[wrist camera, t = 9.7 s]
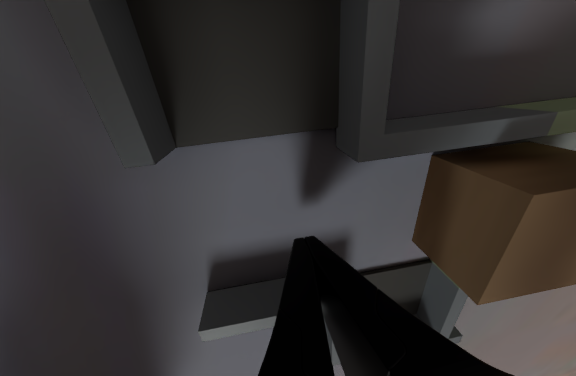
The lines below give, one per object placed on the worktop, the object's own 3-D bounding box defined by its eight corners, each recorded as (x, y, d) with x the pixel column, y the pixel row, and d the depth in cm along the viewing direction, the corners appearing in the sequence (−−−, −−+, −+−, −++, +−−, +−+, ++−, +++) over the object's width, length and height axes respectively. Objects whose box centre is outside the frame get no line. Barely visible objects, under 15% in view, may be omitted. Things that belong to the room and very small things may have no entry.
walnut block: (410, 239, 12) (477, 305, 8) (429, 154, 10) (533, 195, 6) (489, 225, 12) (585, 282, 9) (526, 141, 10) (676, 171, 6)
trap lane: (233, 357, 14) (228, 420, 11) (51, -91, 5) (-189, -302, 2) (509, 296, 16) (561, 339, 13) (753, -108, 7) (1077, -231, 4)
